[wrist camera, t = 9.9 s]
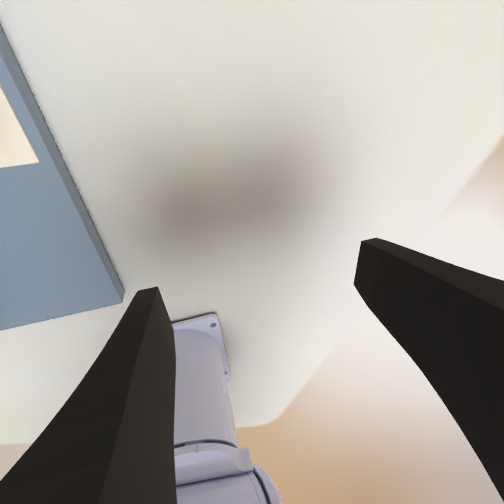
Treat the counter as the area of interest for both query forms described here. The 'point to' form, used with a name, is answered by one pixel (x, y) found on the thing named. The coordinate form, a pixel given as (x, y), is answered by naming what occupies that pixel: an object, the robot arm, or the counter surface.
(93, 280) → the board
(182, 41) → the counter surface
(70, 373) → the counter surface
